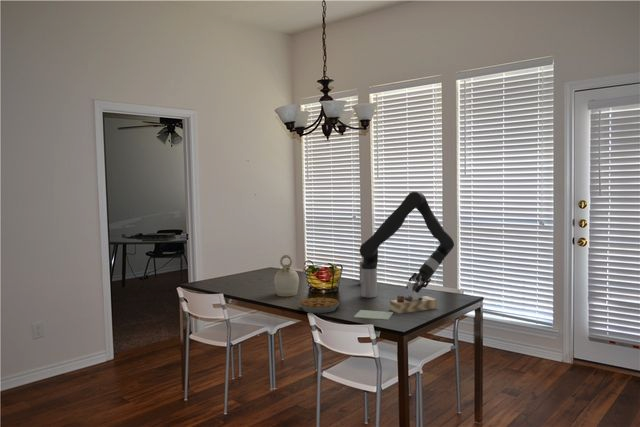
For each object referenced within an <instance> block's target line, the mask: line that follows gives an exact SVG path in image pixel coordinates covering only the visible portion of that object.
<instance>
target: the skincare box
mask: <svg viewBox="0 0 640 427" xmlns="http://www.w3.org/2000/svg"><path fill="white" fill-rule="evenodd" d="M362 262H363V260H359V284H360V285H361V281H362Z"/></svg>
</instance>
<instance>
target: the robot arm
mask: <svg viewBox="0 0 640 427" xmlns="http://www.w3.org/2000/svg"><path fill="white" fill-rule="evenodd" d="M415 209H416V210H417V211H418V212H419V213H420V214H421V216H422V219H423V220H424V223H425V225H426V228H427V229H428V231H429V232H430V234H431V236H432V237H433V238H434V239H435V240H436V239H437V241H438V242H439V245H438V246H437V247H436V248H435V250H434V251H433V252H432V253H431V254H430V256H429V257H428V258H427V259H426V260H425V261H424V263H423V264H422V265H421V266H420V268H419V269H418V271H419V272H418V273H417V272H414V273H413V274H412V275H411V277H410V278H409V279H408V281H416V282H419V285H418V287H417V288H416V289H415V292H416V293H418V292H419V293H420V291H421V290H422V289H423V288H427V286H428V285H429V284H430V282H431V281H432V279H431V277H432V276H433V275H434V274H435V273H436V272H437V270H438V269H439V267H440V265H442V263H443V261H444V260H445V258H446V257H447V256H448V255H449V254H450V253H451V251H452V250H453V248H454V247H455V242H454V240H453V239H452V237H451V236H450V235H449V234H448V232H446V231H445V229H444V228H443V226H442V224H441V223H440V222H439V220H438V219H437V217H436V216H435V214H434V212H433V211H432V209H431V207H430V205H429V202H428V201H427V199H426V196H425V194H423V193H422V192H420V191H411V192H409V193H408V194H407V196H406V197H405V198H404V200H403V201H402V202H401V203H400V205H399V206H398V207H397V208H396V209H395V210H394V211H393V212H392V213H391V214H390V215H389V216H388V217H387V218H386V219H385V220H384V221H382V222H383V223H381V224H380V226H379V227H378V228H377V229H376V231H375V232H374V233H373V234H372V235H371V236H370V237H369V238H368V239H367V240H366V241H365V242H363V243H362V244H361V245H360V247H359V254H360V256H361V257H362V258H363V259H362V261H363V262H362V281H361V284H360V297H361V298H368V299H369V298H371V299H373V298H377V296H378V262H379V247H380V246H381V245H382V244H383V243H384V242H386V241H387V240H388V239H390V238H392V236H393V235H394V234H396V233H397V232H398V231H399V230H400V228H401V227H402V226H403V224H404V222H405V221H406V218H407V217H408V216H409V215H410V214H411V212H412V211H414V210H415ZM405 288H406V289H407V290H408V284H407V285H406V287H405Z"/></svg>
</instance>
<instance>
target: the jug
mask: <svg viewBox="0 0 640 427" xmlns="http://www.w3.org/2000/svg"><path fill="white" fill-rule="evenodd" d="M285 258H288V259H289V261H290V262H289V264H284V262H283V261H284V259H285ZM279 264H280V265H281V267H282V268H281V269H279V270H277V272H276V273H275V275H274V278H273V279H274V280H273V281H274V288H275V292H276V295H277V296H279V297H283V298H284V297H285V298H287V297H294V296H297V293H298V290H299V285H300V278H299V274H298V272H297V271H296V270H295V269H293V268H291V266H292V264H293V258H292V257H291V256H290V255H289V254H285V255H284V254H283V255H282V257H280V259H279Z"/></svg>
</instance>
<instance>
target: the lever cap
mask: <svg viewBox="0 0 640 427" xmlns="http://www.w3.org/2000/svg"><path fill="white" fill-rule="evenodd" d="M407 285H408V289H407V297H409V298H412V299H413V301H418V300H419V297H420V291H419V292H418V293H416V292H415V289H416V288H417V287H418V285H419V282H416V281H409V280H408V281H407Z"/></svg>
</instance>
